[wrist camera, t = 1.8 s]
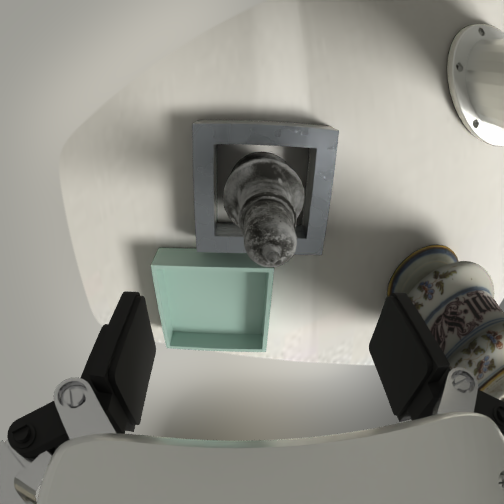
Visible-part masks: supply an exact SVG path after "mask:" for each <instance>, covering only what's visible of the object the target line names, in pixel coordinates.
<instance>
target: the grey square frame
mask: <svg viewBox="0 0 504 504" xmlns="http://www.w3.org/2000/svg"><path fill="white" fill-rule="evenodd" d="M192 128H193V181H194V208H195V230H196V247H197V252H211V253H247V252H246V250H245V247H244V236H243V234H242V233H241V231H240V229H239V227H238V226H237V225H236V224H234V223H217V144H248V145H274V146H291V147H305V148H310V152H309V163H308V173H307V183H306V192H305V201H304V210H303V219H302V225H296V227H295V233H296V236H297V246H296V250H295V253H294V254H298V255H322V250H323V245H324V239H325V232H326V226H327V220H328V213H329V206H330V199H331V192H332V185H333V177H334V169H335V161H336V153H337V144H338V134H339V130H337V129H335V128H333V127H331V126H324V125H314V124H303V123H290V122H275V121H252V120H197V121H196V122H194V123H193V124H192Z"/></svg>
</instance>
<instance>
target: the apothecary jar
mask: <svg viewBox="0 0 504 504" xmlns="http://www.w3.org/2000/svg"><path fill="white" fill-rule="evenodd" d="M395 292H405V293H406V294H407V295H408V296H409V298H410V299H411V301H412V302H413V304H414V306H415V307H416V309H417V310H418V312H419V313H420V315H421V317H422V318H423V320H424V321H425V323H426V324H427V326H428V328H429V329H430V331H431V333H432V334H433V336H434V338H435V339H436V341H437V343H438V344H439V346H440V348H441V349H442V351H443V353H444V355H445V356H446V358H447V360H448V362H449V363H450V365H449V368H450V369H451V370H452V369H453V368H456V367H462V368H465V369H467V370H469V371H470V372H472V373H473V374H474V376H475V377H476V379H477V382H478V389H479V390H481V391H483V392H485V393H487V394H489V395H491V396H493V397H495V398H497V399H499V400H501V401H503V402H504V312H503V311H502V310H501V309H500V307H499V306H498V304H497V303H496V301H495V300H494V286H493V282H492V280H491V277H490V276H489V274H488V273H487V271H486V270H485V269H484V268H483V267H481V266H480V265H478V264H476V263H473V262H468V261H460V262H458V259H457V257H456V255H455V253H454V252H453V251H452V250H451V249H449V248H448V247H445V246H442V245H432V246H427V247H424V248H421V249H419V250H417V251H416V252H414V253H413V254H411V255H410V256H409V257H407V258H406V259H405V260H404V261H403V262H402V263H401V264H400V265H399V267H398V268H397V269H396V271H395V272H394V274H393V276H392V278H391V280H390V282H389V285H388V290H387V297H388V296H390V294H391V293H395Z"/></svg>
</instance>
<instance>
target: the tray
mask: <svg viewBox="0 0 504 504" xmlns="http://www.w3.org/2000/svg"><path fill="white" fill-rule="evenodd" d="M151 270H152V276H153V282H154V287H155V293H156V298H157V304H158V309H159V314H160V319H161V324H162V329H163V333H164V338H165V343H166V347H167V348H173V349H188V350H207V351H235V352H266V347H267V337H268V327H269V317H270V307H271V296H272V286H273V275H274V267H264V266H261V265H258V264H257V263H255V262H254V261H252V260H251V258H250V257H249V256H248V254H247V253H211V252H197V249H196V248H159V249H158V251H157V253H156V255H155V257H154V259H153V262H152V264H151Z"/></svg>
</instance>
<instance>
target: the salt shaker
mask: <svg viewBox="0 0 504 504" xmlns="http://www.w3.org/2000/svg"><path fill="white" fill-rule="evenodd" d="M304 200H305V197H304V188H303V185H302V182H301V179H300V178H299V176H298V175H297V174H296V172H295V171H294V170H293V169H292V168H290V167H289V166H288V164H287V163H286V162H285V161H284V160H283V159H281V158H280V157H278V156H276V155H274V154H272V153H266V152H259V153H253V154H250V155H248V156H245V157H244V158H243V159H241V160H240V161H239V162H238V163H237V164H236V165H235V167H234V168H233V171H232V173H231V175H230V176H229V178H228V180H227V182H226V184H225V187H224V193H223V202H224V208H225V210H226V212H227V214H228V216H229V218H230V219H231V220H232V221H233V222H234V224H236V225H237V226H238V227H239V229H240V231H241V233H242V234H243V236H244V247H245V250H246V252H247V254H248V256H249V257H250V258H251V260H252V261H254V262H255V263H257V264H258V265H261V266H264V267H277V266H280V265H283V264H284V263H286V262H288V261H289V260H290V259H291V258H292V256H293V255H294V253H295V250H296V246H297V236H296V233H295V227H296V223H297V218H298V216H299V214H300V212H301V211H302V208H303V204H304Z"/></svg>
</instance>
